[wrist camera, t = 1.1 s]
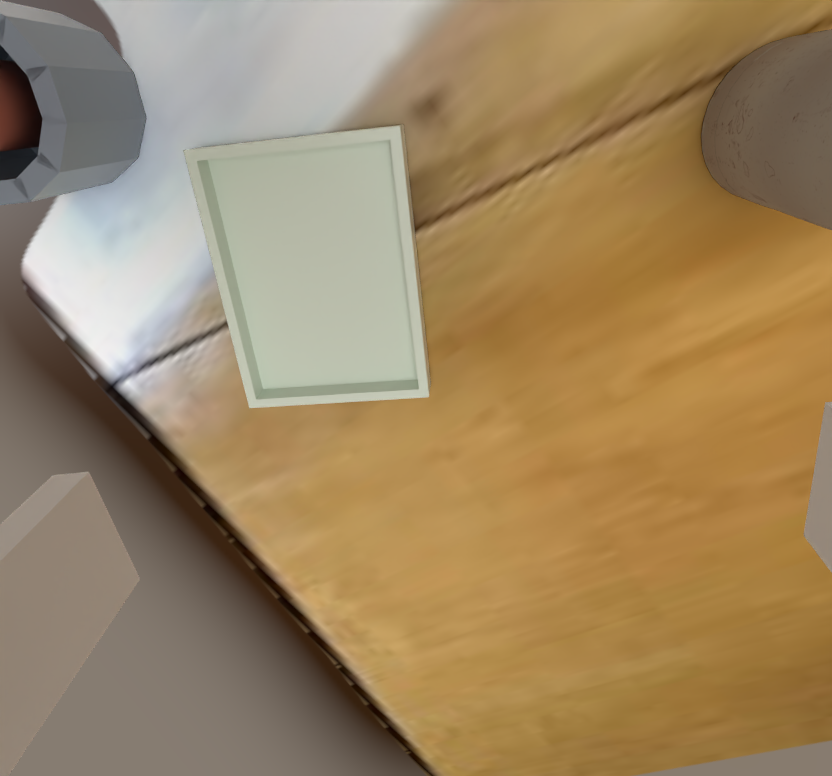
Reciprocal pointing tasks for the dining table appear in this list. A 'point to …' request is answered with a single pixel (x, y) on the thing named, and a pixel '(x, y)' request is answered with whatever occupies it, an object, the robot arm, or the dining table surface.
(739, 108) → the thermos bottle
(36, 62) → the crock
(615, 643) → the dining table surface
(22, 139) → the dowel
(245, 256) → the tray
